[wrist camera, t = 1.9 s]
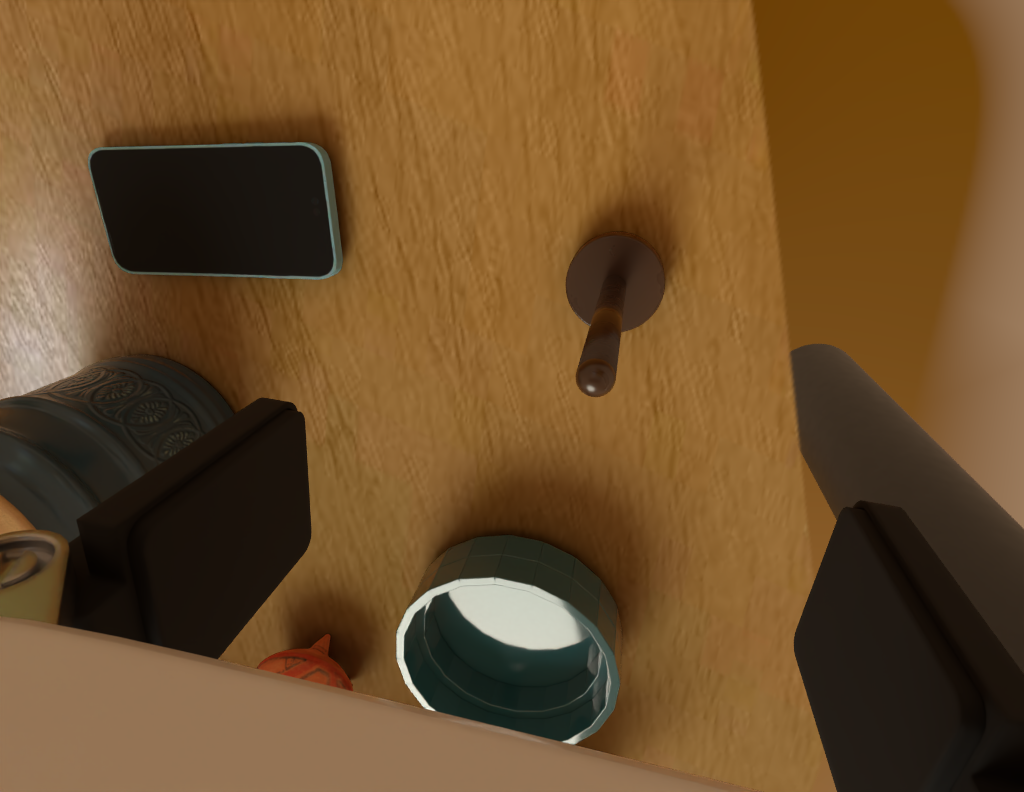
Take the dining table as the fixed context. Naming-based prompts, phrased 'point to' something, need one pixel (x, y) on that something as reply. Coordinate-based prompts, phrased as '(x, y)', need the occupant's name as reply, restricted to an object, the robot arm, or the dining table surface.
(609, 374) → the disc-topped wooden rod
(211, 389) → the canister
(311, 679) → the pot
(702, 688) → the dining table surface
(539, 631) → the bowl
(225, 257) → the smartphone
